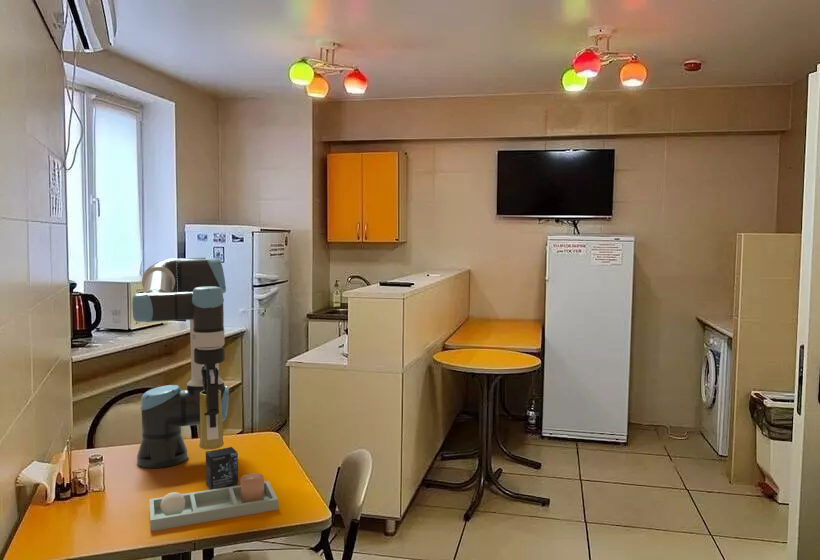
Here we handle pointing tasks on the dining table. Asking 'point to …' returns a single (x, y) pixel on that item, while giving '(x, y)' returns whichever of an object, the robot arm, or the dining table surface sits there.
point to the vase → (203, 424)
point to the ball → (172, 504)
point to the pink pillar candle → (252, 487)
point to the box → (221, 468)
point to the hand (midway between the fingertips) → (211, 435)
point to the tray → (211, 507)
